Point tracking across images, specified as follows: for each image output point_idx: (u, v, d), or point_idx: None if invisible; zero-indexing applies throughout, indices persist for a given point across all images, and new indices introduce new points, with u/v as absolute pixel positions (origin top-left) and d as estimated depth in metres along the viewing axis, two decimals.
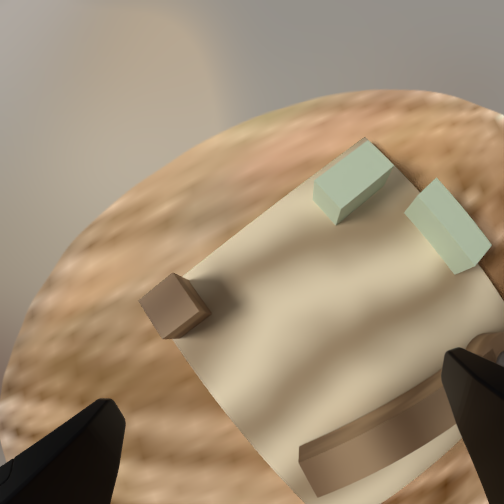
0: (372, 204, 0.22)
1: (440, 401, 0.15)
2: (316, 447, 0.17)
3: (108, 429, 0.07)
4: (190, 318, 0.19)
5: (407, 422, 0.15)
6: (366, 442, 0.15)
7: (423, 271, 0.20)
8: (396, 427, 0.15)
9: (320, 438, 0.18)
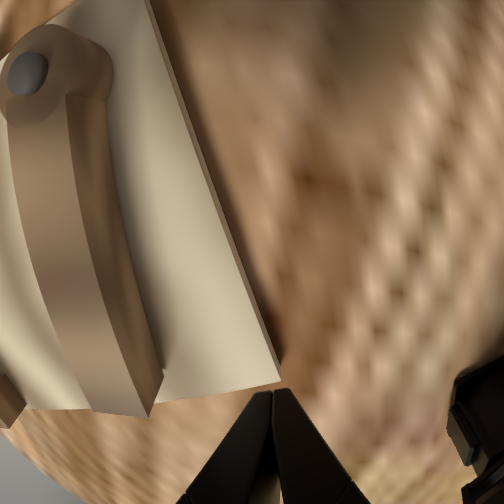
0: None
1: (35, 220, 0.10)
2: None
3: None
4: None
5: (52, 281, 0.10)
6: (70, 342, 0.11)
7: None
8: (56, 299, 0.11)
9: None
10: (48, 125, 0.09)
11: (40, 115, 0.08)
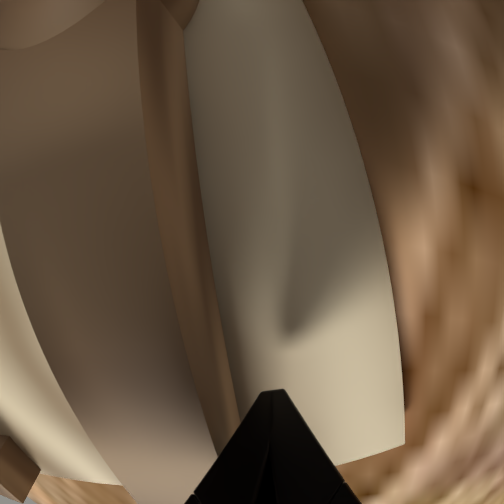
0: None
1: (40, 254, 0.04)
2: None
3: None
4: None
5: (84, 376, 0.05)
6: (124, 460, 0.06)
7: None
8: (94, 403, 0.05)
9: None
10: (83, 34, 0.03)
11: (65, 17, 0.03)
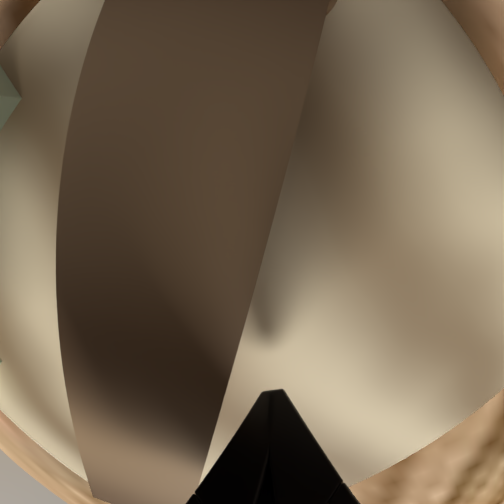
0: None
1: (109, 197, 0.04)
2: None
3: None
4: None
5: (100, 344, 0.05)
6: (99, 435, 0.05)
7: (17, 190, 0.07)
8: (96, 374, 0.05)
9: None
10: None
11: None
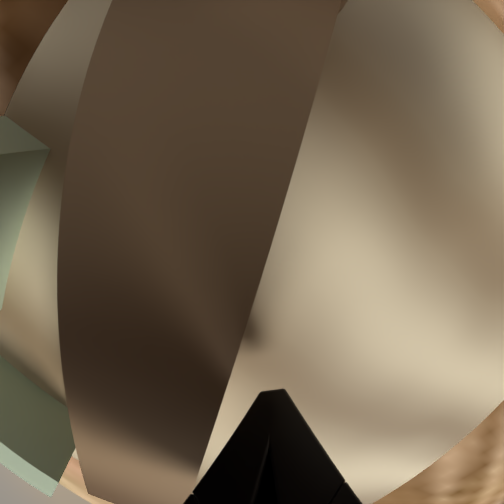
0: (24, 366, 0.09)
1: (113, 193, 0.04)
2: None
3: None
4: None
5: (100, 340, 0.05)
6: (96, 432, 0.05)
7: None
8: (95, 370, 0.05)
9: None
10: None
11: None
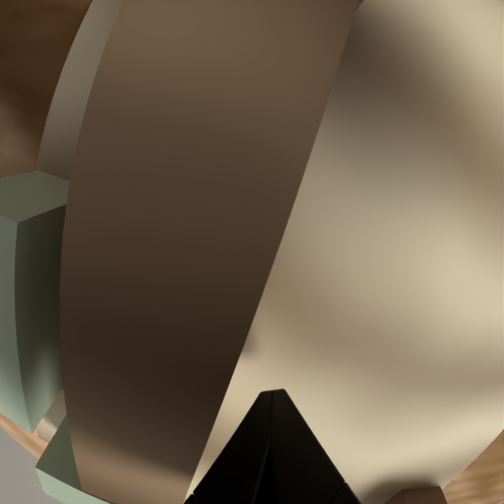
0: None
1: (121, 188, 0.04)
2: None
3: None
4: None
5: (101, 336, 0.05)
6: (93, 428, 0.05)
7: None
8: (95, 366, 0.05)
9: None
10: None
11: None
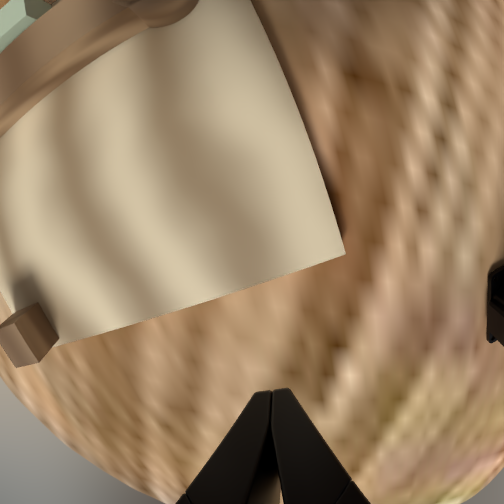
0: None
1: (46, 25, 0.10)
2: None
3: None
4: (21, 332, 0.16)
5: (12, 54, 0.10)
6: None
7: None
8: (3, 62, 0.10)
9: None
10: (106, 5, 0.10)
11: None
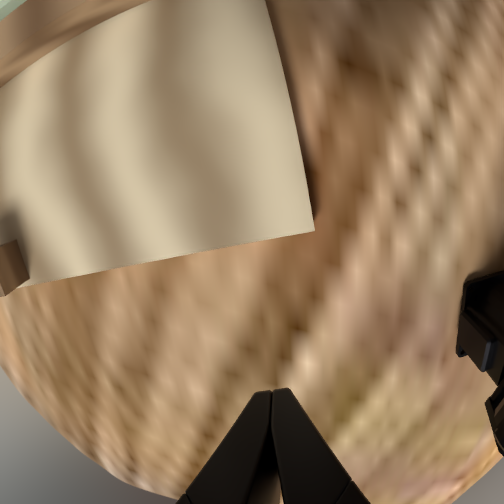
0: None
1: None
2: None
3: None
4: None
5: (37, 2, 0.10)
6: (4, 25, 0.10)
7: None
8: (27, 8, 0.10)
9: None
10: None
11: None
